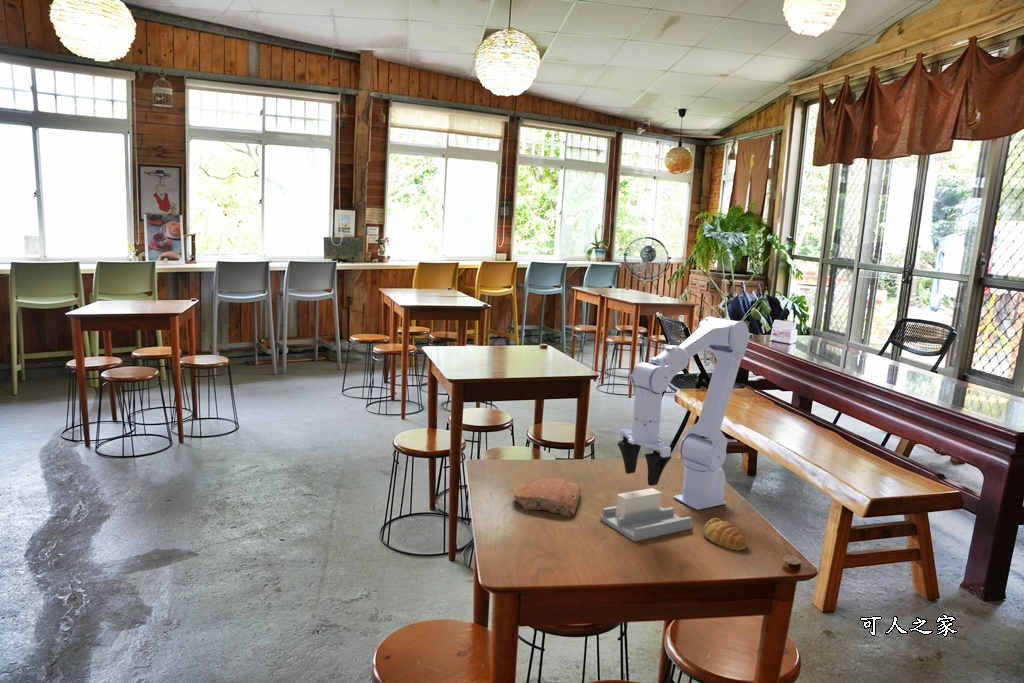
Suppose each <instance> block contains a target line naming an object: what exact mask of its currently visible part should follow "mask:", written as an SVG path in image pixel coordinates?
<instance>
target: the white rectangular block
mask: <svg viewBox="0 0 1024 683" xmlns="http://www.w3.org/2000/svg"><path fill="white" fill-rule="evenodd" d="M662 495H663V494H662V492H661V491H659V490H657V489H655V488H653V487H651V488H650V487H649V488H645V489H640V490H634V491H629V492H623V493H618V494H616V505H615V506H616V517H618V518H620V517H625V516H630V515H635V514H640V513H645V512H650V511H655V510H660V507H661V503H662Z"/></svg>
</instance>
